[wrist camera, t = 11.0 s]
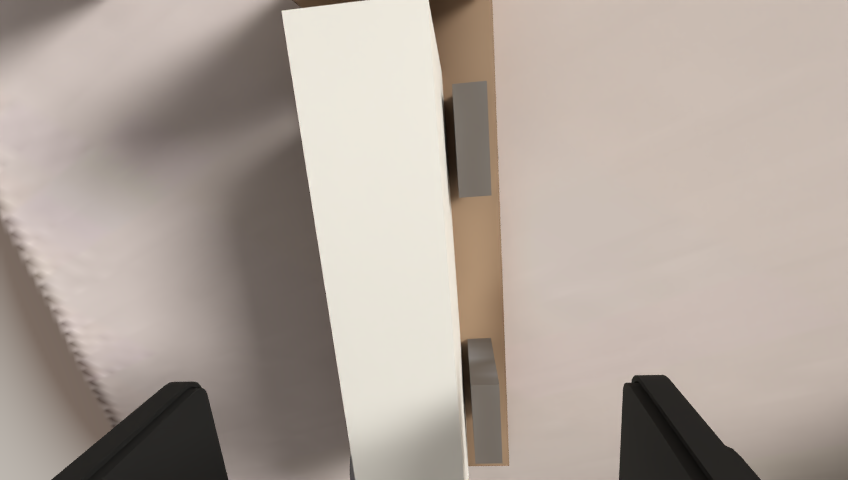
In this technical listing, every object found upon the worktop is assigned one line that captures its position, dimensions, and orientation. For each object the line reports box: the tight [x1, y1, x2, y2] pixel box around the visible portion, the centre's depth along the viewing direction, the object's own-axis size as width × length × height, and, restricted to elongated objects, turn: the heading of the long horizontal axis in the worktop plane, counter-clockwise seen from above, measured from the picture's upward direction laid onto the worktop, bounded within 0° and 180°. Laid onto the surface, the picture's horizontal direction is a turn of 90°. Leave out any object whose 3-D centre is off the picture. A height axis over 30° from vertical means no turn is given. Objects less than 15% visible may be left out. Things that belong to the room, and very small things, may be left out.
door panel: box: [282, 0, 469, 480], centre depth 15 cm, size 4×18×10 cm, turn 5°
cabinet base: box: [293, 0, 509, 466], centre depth 14 cm, size 8×26×14 cm, turn 5°
